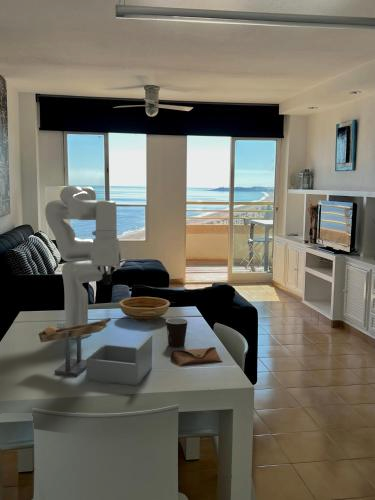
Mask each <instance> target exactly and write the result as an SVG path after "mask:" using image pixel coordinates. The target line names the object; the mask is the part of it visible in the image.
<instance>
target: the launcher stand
mask: <svg viewBox="0 0 375 500" xmlns="http://www.w3.org/2000/svg"><path fill="white" fill-rule="evenodd" d="M77 326H78V325H77ZM64 341H65V342H64V344H65V345H64V346H65V347H64V353H65V354H64V357H65V358H64V359H65V362H64V363H62V364H61V365H60V366H58V367H57V368H56V369H55V370H54V375H62V376H69V377H78V376H79V375H80V374H81V373H83V372H84V371H86V359H82V338H81V335H80V336H77V338H76V358H72V357H71V338H70V332H66V333H65V338H64Z"/></svg>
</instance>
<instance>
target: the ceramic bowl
mask: <svg viewBox="0 0 375 500" xmlns="http://www.w3.org/2000/svg"><path fill="white" fill-rule="evenodd" d="M118 304H119V309H120V311H121V312H122V313H123V314H124V315H125V316H127V317H129V318H131V319H132V320H133V321H135V322H141V323H146V322H147V323H149V322H153V321H155V320H157V319H158V318H160V317H162V316H163V315H165V314H166V313H167V312H168V310H169V308H170V307H169V306H170V305H171V302H170V301H169V300H167V299H165V298H160V297H151V296H138V297H137V296H136V297H128V298H125V299H122V300H120V301H119V302H118Z"/></svg>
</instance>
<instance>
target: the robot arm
mask: <svg viewBox="0 0 375 500" xmlns="http://www.w3.org/2000/svg"><path fill="white" fill-rule="evenodd" d="M59 198H60V199H59V200H58V199H56V200H51V201H50V202H48V203H47V204H46V205H45V208H44V211H45V212H44V215H45V221H46V222H47V225H48V227H49V228H50V230H51V232H52V234H53V236H54V238H55V242H56V245H57V249H58V252H59V255H60V258H61V259H62V260H63V261H65V263H64V264H63V265H62V267H61V274H62V279H63V288H64V290H63V291H64V323H63V322H57V323H56V329H62V328H67V327H72V326H77V325H83V324H88V323H89V298H88V297H89V294H88V291H87V289H86V288H85V287H84V286H83V284H84V283H92V282H99V281H101V282H102V285H103V286H110V285H111V283H112V274H113V273H114V272H115V270H119V269H121V268H122V264H121V263H122V253H121V245H120V240H119V238H118V231H117V228H118V227H117V226H118V225H117V218H118V217H117V216H118V215H117V203H116V202H115V201H114V200H107V199H106V200H104V199H103V200H102V199H100V200H99V199H97V195H96V191H95V190H94V188H92V187H91V186H88V185H87V186H86V185H84V186H83V185H68V186H65V187H64V188H62V189H61V190H60V193H59ZM65 220H78V221H95V231H92V235H93V236H94V237H95V238H93V239H92V238H89V237H88V238H86V237H84V238H78V237H77V236H76V233H75V230H74V228H73V227H72V226H71V225H70V224H69V223H68V222H66V221H65ZM92 334H93V333H91V334H85V335H81V339H82V338H87V337H89V336H91V335H92ZM70 339H77V336H74V337H70Z"/></svg>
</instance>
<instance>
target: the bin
mask: <svg viewBox="0 0 375 500" xmlns="http://www.w3.org/2000/svg"><path fill="white" fill-rule="evenodd" d="M85 360H86V369H85V372H86V373H85V375H86V376H85V377H86V381H92V382H101V383H110V384H119V385H128V386H133V387H134V386H135V387H138V386H139V385H140V384H141V383H142V381H143V380H144V379H145V377H147V375H148V374H149V372H150V371H152V368H153V334H150V335H148V337H146V339H144V341H142V342H141V344H140V345H139V346H138V347H135V346H125V345H116V344H115V345H114V344H105V343H104V344H103V345H102V346H100V347H99V348H98V349H97V350H95V352H93V353H92V354H91V355H89V357H87V358H86V359H85Z"/></svg>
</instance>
